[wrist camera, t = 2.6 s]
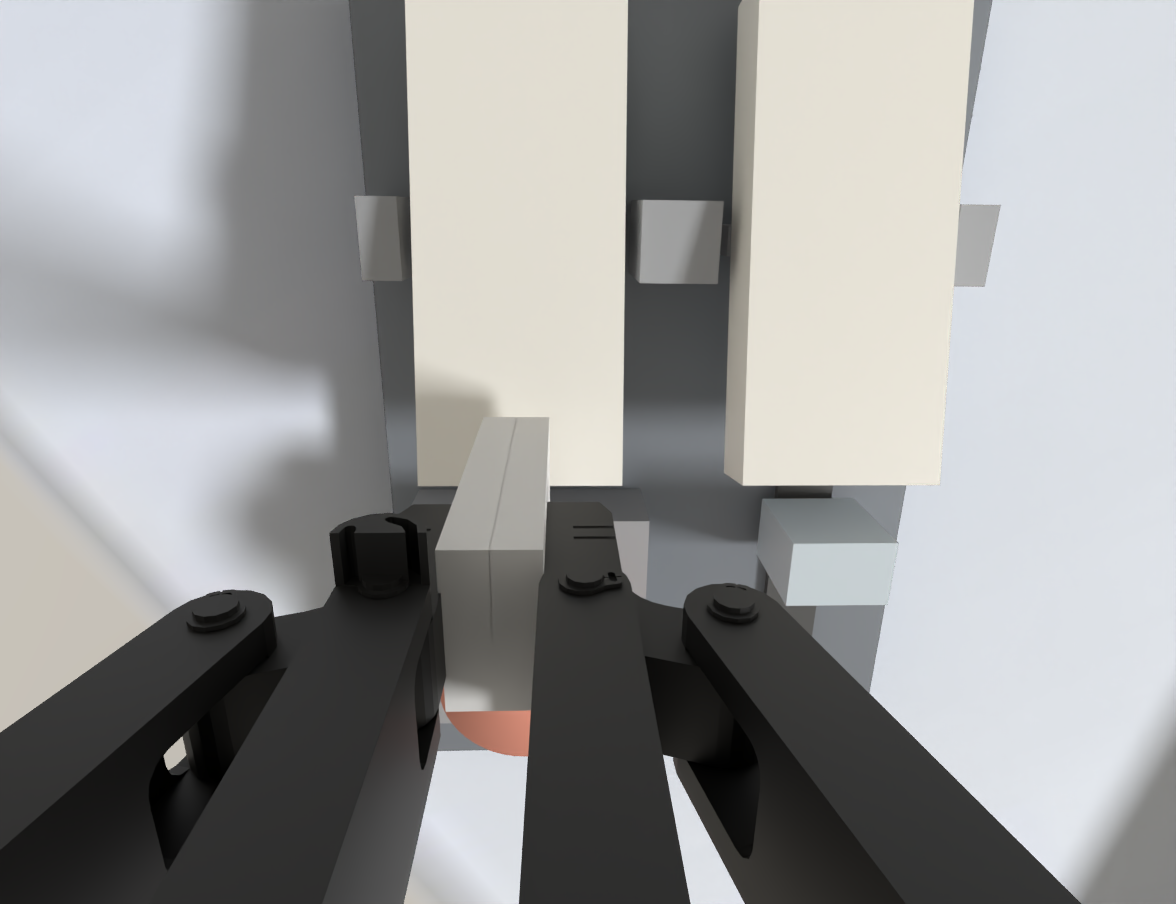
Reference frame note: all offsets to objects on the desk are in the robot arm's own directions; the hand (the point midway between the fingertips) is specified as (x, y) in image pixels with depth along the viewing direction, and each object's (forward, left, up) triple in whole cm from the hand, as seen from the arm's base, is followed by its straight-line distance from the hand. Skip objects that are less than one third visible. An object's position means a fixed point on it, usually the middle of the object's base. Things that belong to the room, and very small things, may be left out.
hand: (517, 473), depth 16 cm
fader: (+4, +9, -5) cm, 11 cm away
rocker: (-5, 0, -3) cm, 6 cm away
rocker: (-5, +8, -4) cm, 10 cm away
